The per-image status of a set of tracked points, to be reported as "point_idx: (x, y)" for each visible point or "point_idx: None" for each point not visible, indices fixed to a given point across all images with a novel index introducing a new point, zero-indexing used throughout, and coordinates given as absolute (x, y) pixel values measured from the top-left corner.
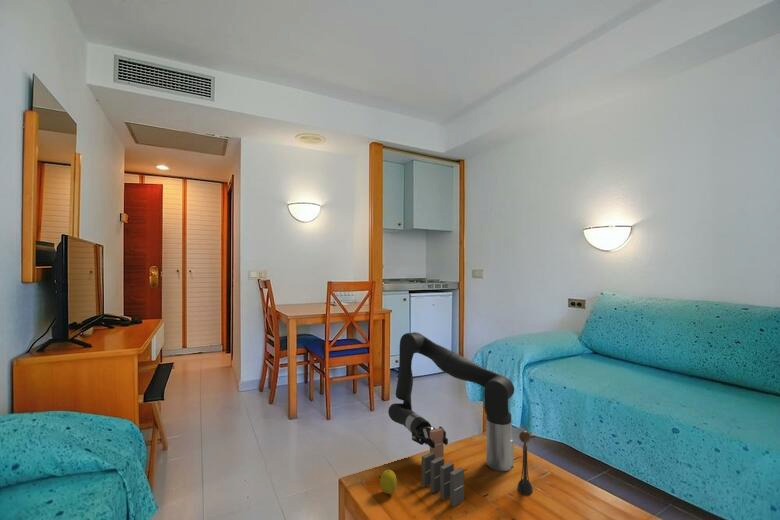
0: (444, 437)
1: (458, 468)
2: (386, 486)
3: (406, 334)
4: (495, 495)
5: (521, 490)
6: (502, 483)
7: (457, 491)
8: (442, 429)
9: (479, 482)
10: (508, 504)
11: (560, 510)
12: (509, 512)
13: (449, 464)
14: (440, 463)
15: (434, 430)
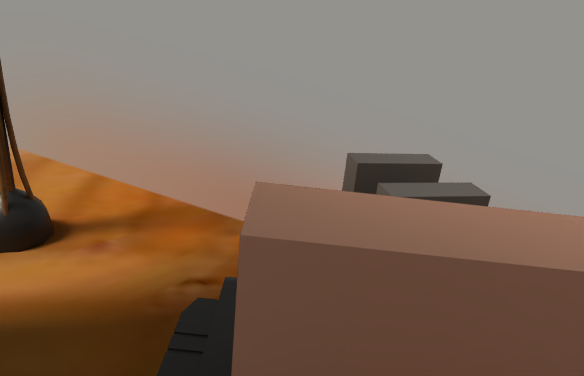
0: (230, 318)
1: (374, 162)
2: None
3: None
4: (163, 264)
5: (51, 224)
6: (29, 292)
7: None
8: (265, 190)
9: (121, 348)
10: (174, 227)
11: (69, 172)
12: (212, 214)
13: (411, 188)
14: None
15: (501, 233)
